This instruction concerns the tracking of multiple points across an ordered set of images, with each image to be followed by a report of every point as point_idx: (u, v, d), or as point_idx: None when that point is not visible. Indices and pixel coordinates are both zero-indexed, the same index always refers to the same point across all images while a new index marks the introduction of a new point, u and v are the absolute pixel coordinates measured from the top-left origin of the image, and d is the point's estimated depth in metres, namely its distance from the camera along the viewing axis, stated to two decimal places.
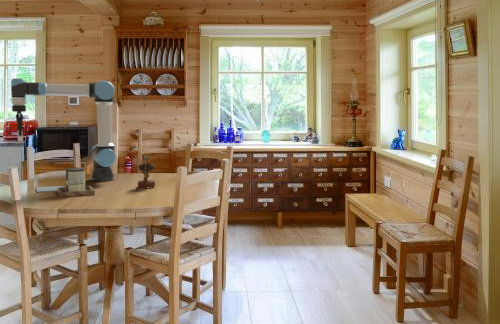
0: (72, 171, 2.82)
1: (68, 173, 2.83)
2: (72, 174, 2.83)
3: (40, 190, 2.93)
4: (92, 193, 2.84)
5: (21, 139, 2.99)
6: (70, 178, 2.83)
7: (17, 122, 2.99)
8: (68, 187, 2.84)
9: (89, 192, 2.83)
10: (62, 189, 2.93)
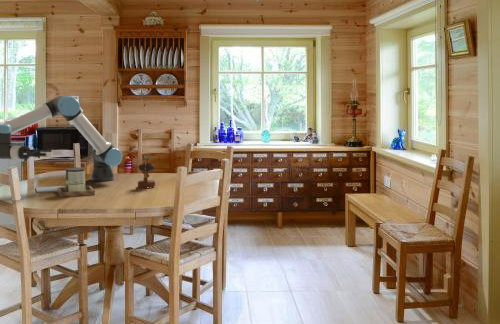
0: (72, 171, 2.82)
1: (68, 173, 2.83)
2: (72, 174, 2.83)
3: (40, 190, 2.93)
4: (92, 193, 2.84)
5: (49, 153, 2.80)
6: (70, 178, 2.83)
7: None
8: (68, 187, 2.84)
9: (89, 192, 2.83)
10: (62, 189, 2.93)
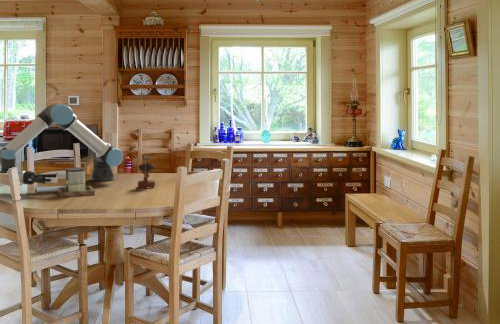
0: (72, 171, 2.82)
1: (68, 173, 2.83)
2: (72, 174, 2.83)
3: (40, 190, 2.93)
4: (92, 193, 2.84)
5: (54, 179, 2.81)
6: (70, 178, 2.83)
7: None
8: (68, 187, 2.84)
9: (89, 192, 2.83)
10: (62, 189, 2.93)
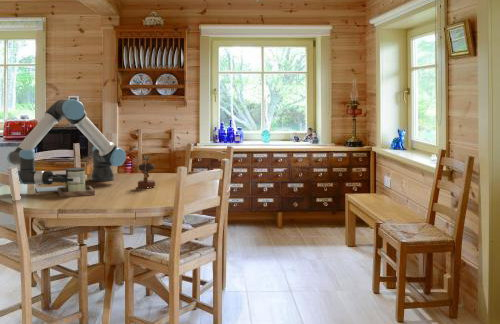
0: (72, 171, 2.82)
1: (68, 173, 2.83)
2: (72, 174, 2.83)
3: (40, 190, 2.93)
4: (92, 193, 2.84)
5: (77, 178, 2.82)
6: None
7: None
8: (68, 187, 2.84)
9: (89, 192, 2.83)
10: (62, 189, 2.93)
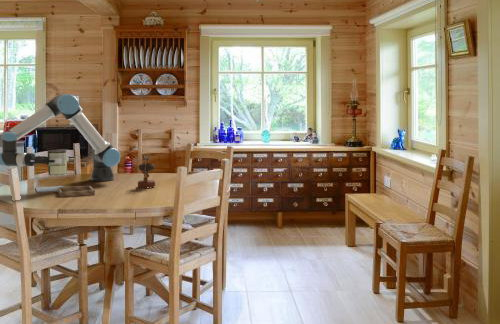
0: (54, 152, 2.88)
1: (50, 154, 2.89)
2: (54, 155, 2.88)
3: (40, 190, 2.93)
4: (92, 193, 2.84)
5: (58, 160, 2.88)
6: None
7: None
8: (50, 168, 2.90)
9: (89, 192, 2.83)
10: (62, 189, 2.93)
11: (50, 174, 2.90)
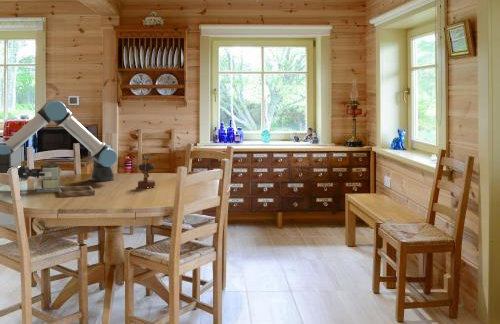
0: (46, 167, 2.93)
1: (43, 169, 2.94)
2: (46, 170, 2.94)
3: (40, 190, 2.93)
4: (92, 193, 2.84)
5: (48, 173, 2.92)
6: None
7: None
8: (43, 182, 2.95)
9: (89, 192, 2.83)
10: (62, 189, 2.93)
11: (43, 188, 2.96)
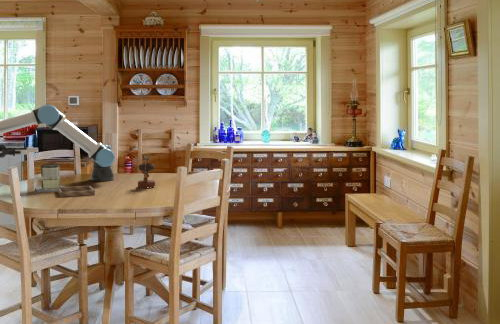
0: (46, 167, 2.93)
1: (43, 169, 2.94)
2: (46, 170, 2.94)
3: (40, 190, 2.93)
4: (92, 193, 2.84)
5: (24, 151, 2.91)
6: (45, 174, 2.94)
7: None
8: (43, 182, 2.95)
9: (89, 192, 2.83)
10: (62, 189, 2.93)
11: (43, 188, 2.96)
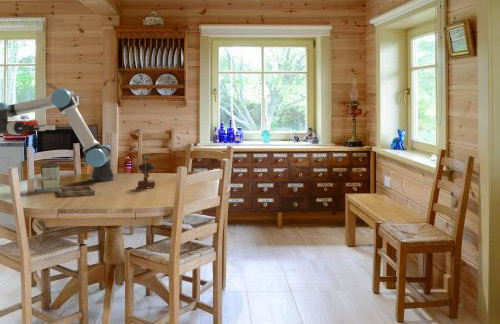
0: (46, 167, 2.93)
1: (43, 169, 2.94)
2: (46, 170, 2.94)
3: (40, 190, 2.93)
4: (92, 193, 2.84)
5: (42, 127, 3.11)
6: (45, 174, 2.94)
7: None
8: (43, 182, 2.95)
9: (89, 192, 2.83)
10: (62, 189, 2.93)
11: (43, 188, 2.96)
